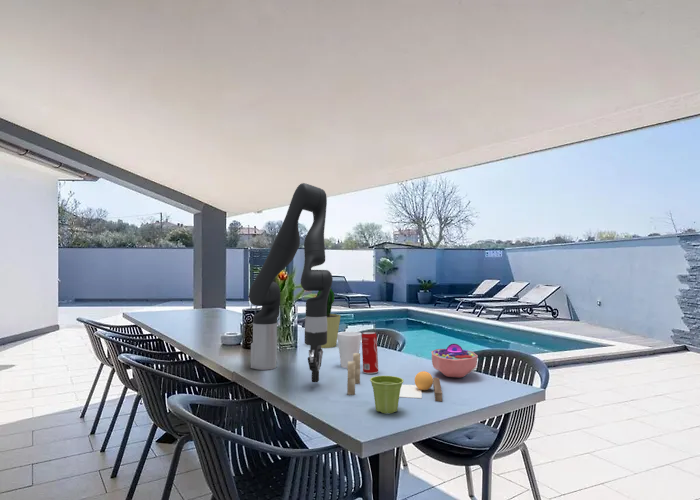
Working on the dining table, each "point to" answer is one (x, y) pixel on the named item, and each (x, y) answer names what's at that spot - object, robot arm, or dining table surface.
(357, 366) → the post
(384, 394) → the plant pot
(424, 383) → the ball
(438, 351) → the cell model
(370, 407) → the dining table surface
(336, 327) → the potted cactus
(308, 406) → the dining table surface
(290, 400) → the dining table surface
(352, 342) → the foam cup
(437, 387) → the wall
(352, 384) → the post
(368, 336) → the beverage can
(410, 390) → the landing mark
